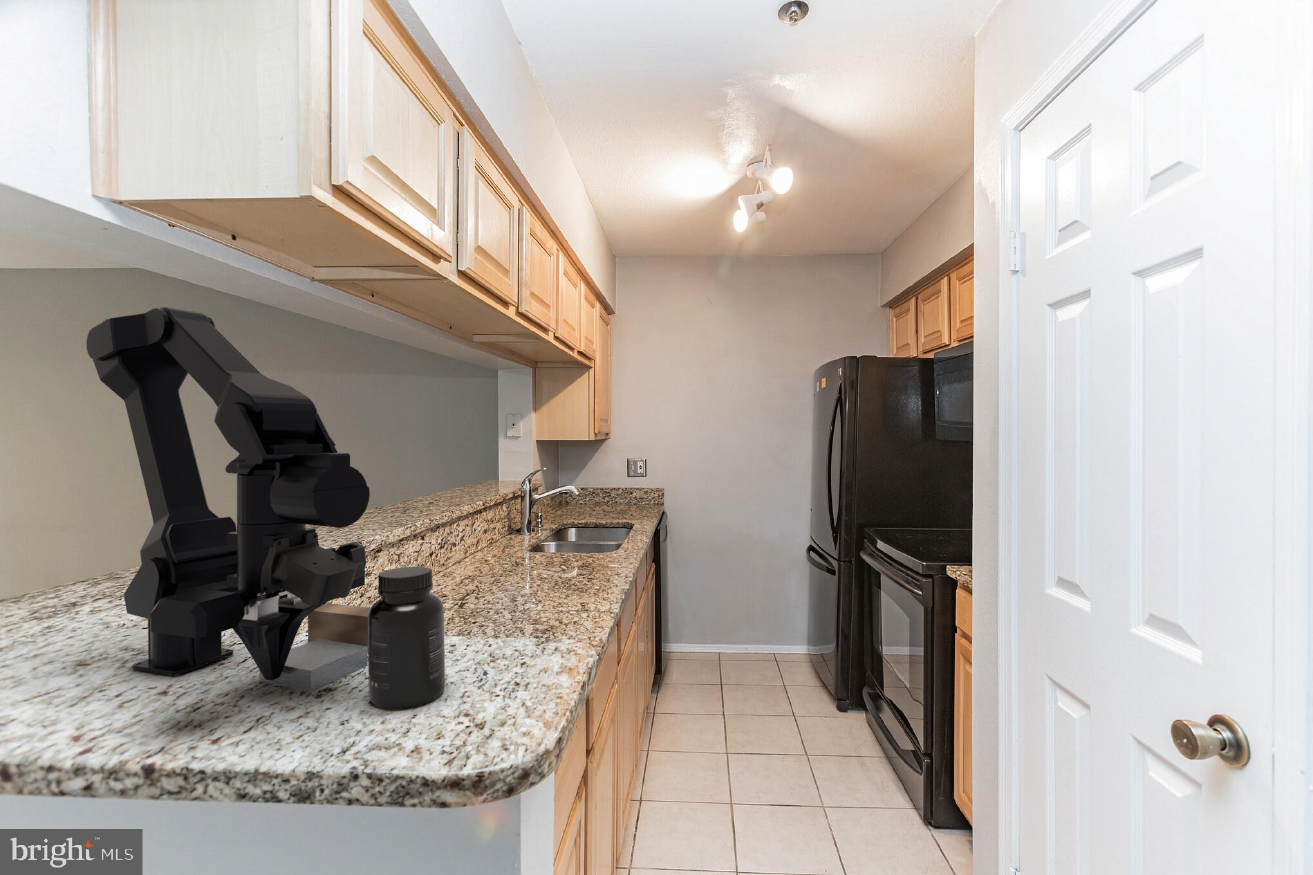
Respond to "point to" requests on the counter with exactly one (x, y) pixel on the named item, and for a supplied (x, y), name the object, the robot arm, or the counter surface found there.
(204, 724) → the counter surface
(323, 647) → the grey metal plate
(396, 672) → the supplement bottle
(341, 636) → the curved brown bar
